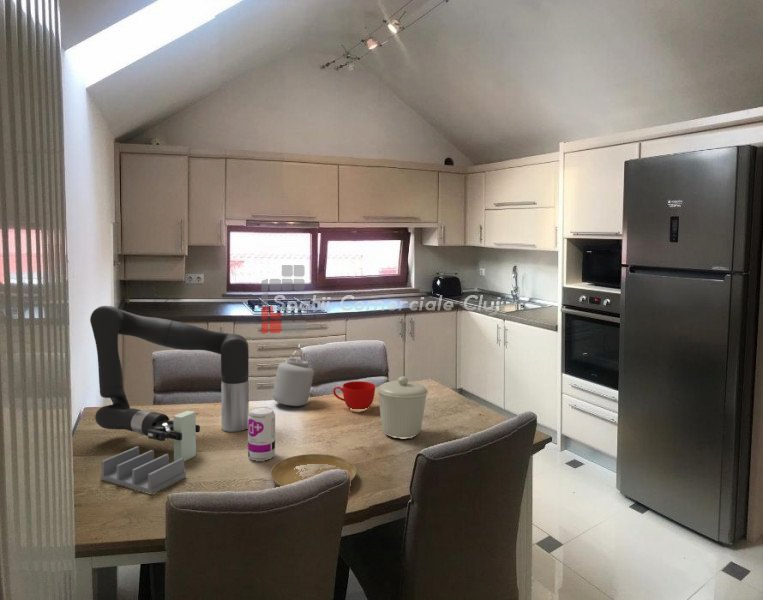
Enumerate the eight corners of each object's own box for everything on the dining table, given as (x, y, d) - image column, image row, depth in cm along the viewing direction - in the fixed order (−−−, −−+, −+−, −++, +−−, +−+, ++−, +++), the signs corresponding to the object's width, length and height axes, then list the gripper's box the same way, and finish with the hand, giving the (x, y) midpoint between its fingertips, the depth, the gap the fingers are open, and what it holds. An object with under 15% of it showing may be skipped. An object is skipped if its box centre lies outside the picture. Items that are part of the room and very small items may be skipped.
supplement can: (261, 464, 162) (262, 416, 160) (242, 458, 166) (242, 411, 164) (280, 455, 169) (280, 409, 167) (261, 449, 173) (261, 404, 171)
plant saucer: (316, 456, 170) (317, 446, 169) (373, 481, 154) (373, 470, 154) (252, 481, 152) (252, 470, 151) (309, 511, 136) (309, 499, 136)
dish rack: (100, 479, 149) (100, 460, 148) (136, 463, 160) (135, 445, 159) (152, 495, 141) (151, 475, 141) (185, 477, 152) (185, 458, 152)
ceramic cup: (336, 403, 224) (337, 379, 222) (376, 405, 221) (377, 382, 220) (329, 412, 211) (329, 388, 210) (371, 416, 209) (372, 391, 207)
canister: (437, 435, 191) (439, 377, 188) (403, 448, 178) (406, 386, 175) (398, 422, 203) (400, 367, 201) (365, 433, 190) (366, 375, 187)
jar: (306, 396, 232) (307, 339, 229) (324, 405, 220) (325, 345, 217) (266, 402, 221) (266, 343, 218) (281, 413, 209) (282, 350, 206)
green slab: (174, 460, 163) (173, 416, 161) (188, 453, 168) (188, 410, 167) (181, 462, 162) (180, 417, 160) (195, 455, 167) (195, 411, 165)
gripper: (131, 418, 163) (172, 428, 156) (167, 405, 176) (207, 414, 169) (131, 442, 164) (172, 453, 157) (167, 428, 177) (207, 437, 170)
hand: (190, 432), depth 163 cm, fingers open, 7 cm apart
